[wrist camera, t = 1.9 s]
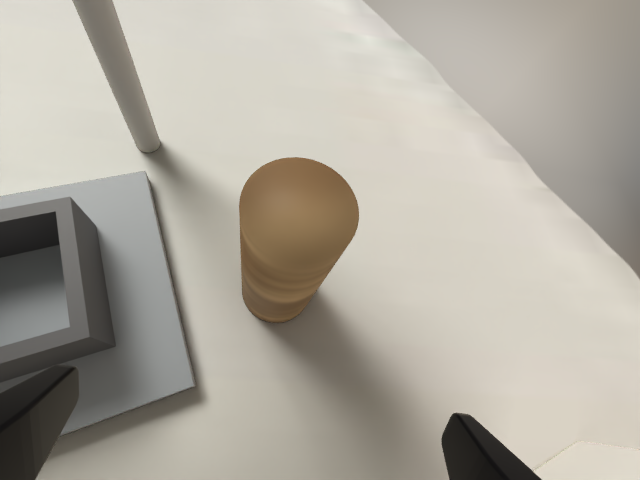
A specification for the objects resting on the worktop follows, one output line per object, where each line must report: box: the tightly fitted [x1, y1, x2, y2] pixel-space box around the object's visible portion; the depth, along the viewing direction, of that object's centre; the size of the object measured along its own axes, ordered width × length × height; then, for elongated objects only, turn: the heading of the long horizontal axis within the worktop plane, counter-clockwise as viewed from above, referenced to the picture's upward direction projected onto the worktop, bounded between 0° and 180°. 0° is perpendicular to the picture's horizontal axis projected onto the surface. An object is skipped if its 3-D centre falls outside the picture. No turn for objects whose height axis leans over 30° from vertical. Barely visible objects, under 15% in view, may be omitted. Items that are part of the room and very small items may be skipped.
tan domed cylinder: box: [239, 157, 359, 323], centre depth 18 cm, size 4×4×11 cm
